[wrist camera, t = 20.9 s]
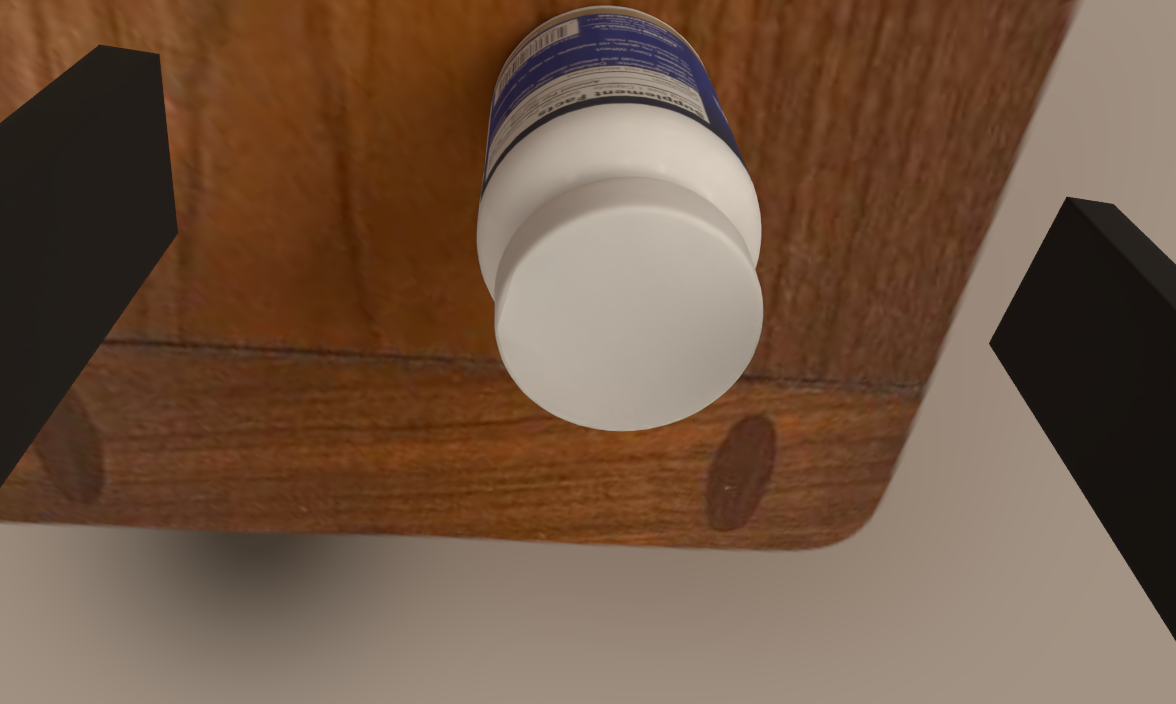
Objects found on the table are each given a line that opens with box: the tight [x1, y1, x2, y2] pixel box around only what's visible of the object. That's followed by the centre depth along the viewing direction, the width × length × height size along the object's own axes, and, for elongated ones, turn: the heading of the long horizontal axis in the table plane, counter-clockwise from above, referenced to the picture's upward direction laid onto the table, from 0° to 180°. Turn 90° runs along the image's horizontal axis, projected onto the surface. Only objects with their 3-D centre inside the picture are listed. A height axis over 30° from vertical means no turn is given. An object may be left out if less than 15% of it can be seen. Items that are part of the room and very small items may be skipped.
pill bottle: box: [477, 6, 763, 431], centre depth 20 cm, size 6×6×10 cm
